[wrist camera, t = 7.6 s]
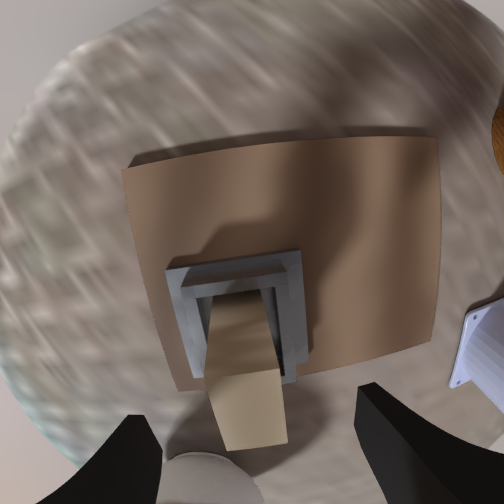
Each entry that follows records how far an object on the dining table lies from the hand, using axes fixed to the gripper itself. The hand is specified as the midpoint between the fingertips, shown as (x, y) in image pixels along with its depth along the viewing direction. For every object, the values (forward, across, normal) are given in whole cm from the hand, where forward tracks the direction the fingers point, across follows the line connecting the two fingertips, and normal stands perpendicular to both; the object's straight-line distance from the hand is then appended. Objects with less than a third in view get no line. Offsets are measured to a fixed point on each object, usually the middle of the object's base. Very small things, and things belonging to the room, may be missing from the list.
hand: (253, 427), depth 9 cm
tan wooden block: (+8, 0, 0) cm, 8 cm away
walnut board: (+9, -4, -2) cm, 10 cm away
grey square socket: (+9, 0, 0) cm, 9 cm away
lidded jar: (+9, +6, +16) cm, 19 cm away
